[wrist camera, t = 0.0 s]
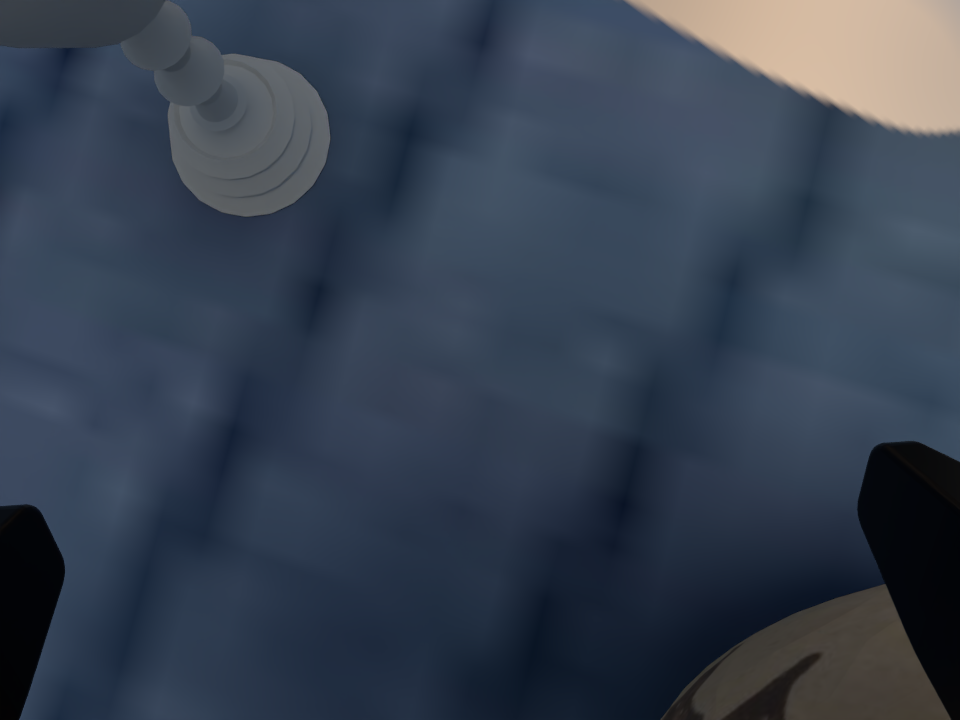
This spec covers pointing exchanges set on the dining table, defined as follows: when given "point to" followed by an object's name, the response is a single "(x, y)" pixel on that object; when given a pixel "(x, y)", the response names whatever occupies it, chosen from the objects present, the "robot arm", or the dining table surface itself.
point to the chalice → (199, 98)
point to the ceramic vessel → (818, 669)
